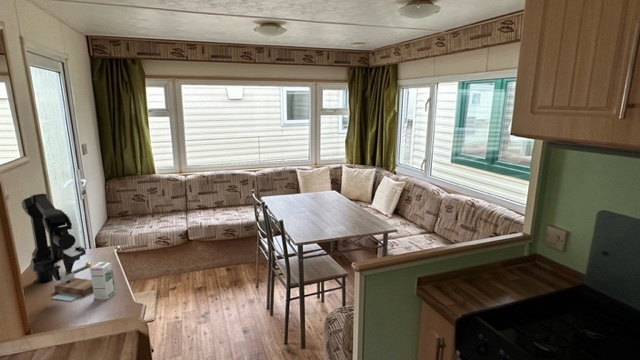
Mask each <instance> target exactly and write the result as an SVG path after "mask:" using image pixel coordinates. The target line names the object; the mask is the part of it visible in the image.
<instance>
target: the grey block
mask: <svg viewBox="0 0 640 360" xmlns="http://www.w3.org/2000/svg"><path fill="white" fill-rule="evenodd" d="M59 276H60V280H59V281H57V280H56V279H55V278H54V277H53V275H52V277H53V279H52V281H53V282H59V283H60V282H66V281H68V280H70V279H72V278H75V274H74V272H73V271H66V270H59Z"/></svg>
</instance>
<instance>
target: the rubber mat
mask: <svg viewBox="0 0 640 360" xmlns="http://www.w3.org/2000/svg"><path fill="white" fill-rule="evenodd" d="M80 297H82V296H81V295H77V294H70V293H63V292H62V293H58V294H56V295H54V296H52V297H51V298H53V299H52V300H56V299H58V300H57V301H63V302H70V303H71V302H73V301H75V300H77V299H78V298H80Z"/></svg>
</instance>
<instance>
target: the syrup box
mask: <svg viewBox="0 0 640 360" xmlns="http://www.w3.org/2000/svg"><path fill="white" fill-rule="evenodd" d="M89 272H90V277H91V280H92V285H93V292H92V293H93V297H94V298H93V299H94V300H99V301H100V300H103V301H106V300H109V299H110V297H112V296H113V295H114V294H116V285H115V279H114V273H113V265H112V262H111V261H98V262H97V263H96V264H95V265H93V266H91V267H90V268H89Z"/></svg>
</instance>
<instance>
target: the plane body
mask: <svg viewBox="0 0 640 360" xmlns="http://www.w3.org/2000/svg"><path fill="white" fill-rule="evenodd" d="M53 287H54V292H55V293H59V292H60V293H62V292H63V293H70V294H77V295H81V296H80V297H87V296H88V295H90V294H92V293H94V292H93V285H92V279H86V278H80V277H79V278H78V277H74V278H72V279H70V282H59V283H56V284H55V285H54V286H53ZM60 293H59V294H60Z"/></svg>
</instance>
